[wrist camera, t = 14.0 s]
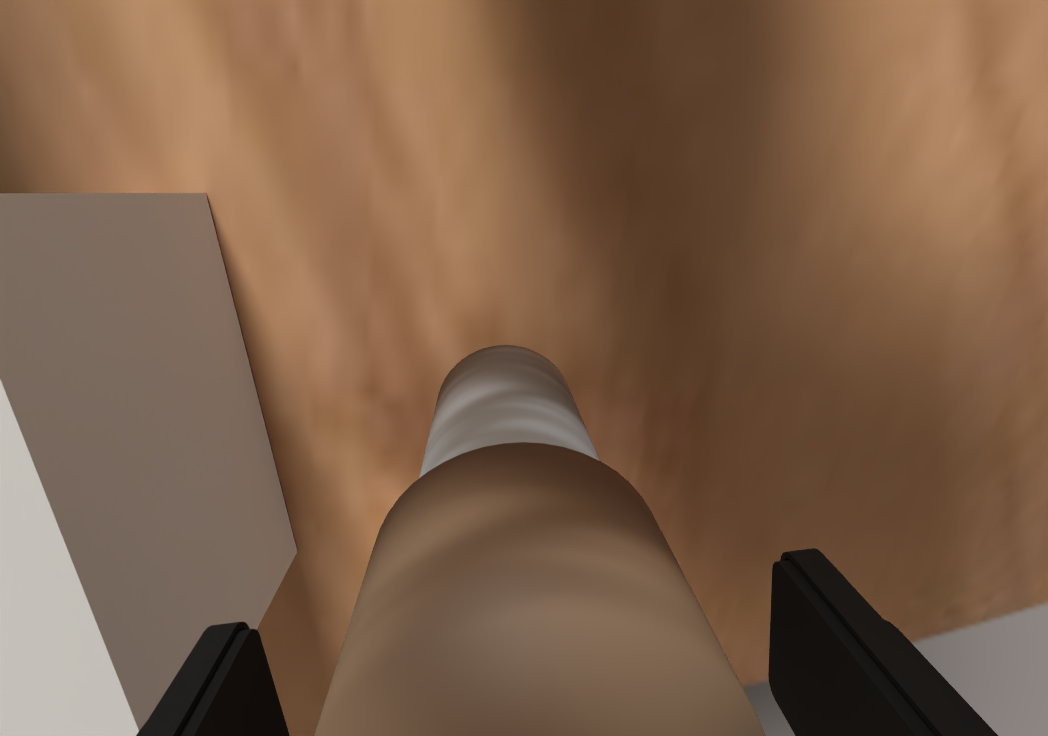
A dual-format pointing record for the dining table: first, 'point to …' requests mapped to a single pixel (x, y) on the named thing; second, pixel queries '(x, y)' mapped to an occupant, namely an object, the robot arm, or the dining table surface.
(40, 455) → the housing
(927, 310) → the dining table surface
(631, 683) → the brown rounded piece
